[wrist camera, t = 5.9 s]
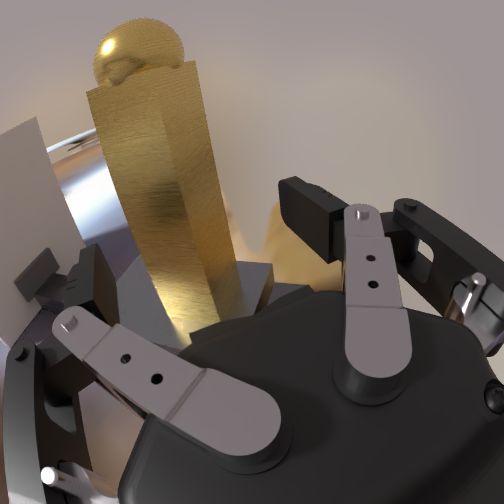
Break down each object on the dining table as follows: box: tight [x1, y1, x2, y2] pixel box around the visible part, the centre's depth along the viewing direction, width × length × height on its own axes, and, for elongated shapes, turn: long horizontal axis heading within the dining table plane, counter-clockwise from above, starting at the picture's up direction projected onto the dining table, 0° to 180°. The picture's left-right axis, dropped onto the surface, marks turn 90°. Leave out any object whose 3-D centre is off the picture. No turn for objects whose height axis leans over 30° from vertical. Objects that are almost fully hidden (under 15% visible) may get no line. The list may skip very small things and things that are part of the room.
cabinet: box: [0, 117, 86, 349], centre depth 21 cm, size 8×15×16 cm, turn 163°
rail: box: [34, 273, 310, 314], centre depth 20 cm, size 26×4×4 cm, turn 73°
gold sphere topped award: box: [86, 18, 274, 356], centre depth 14 cm, size 10×7×18 cm
